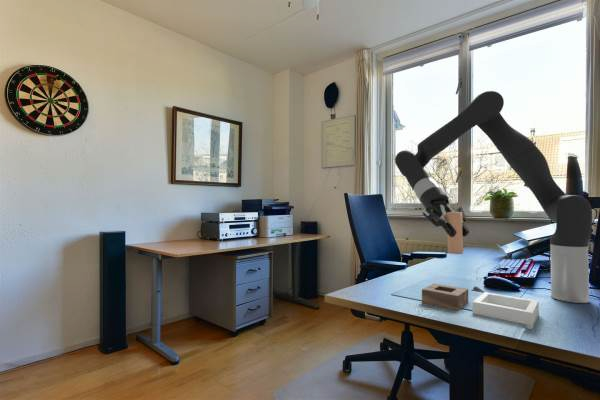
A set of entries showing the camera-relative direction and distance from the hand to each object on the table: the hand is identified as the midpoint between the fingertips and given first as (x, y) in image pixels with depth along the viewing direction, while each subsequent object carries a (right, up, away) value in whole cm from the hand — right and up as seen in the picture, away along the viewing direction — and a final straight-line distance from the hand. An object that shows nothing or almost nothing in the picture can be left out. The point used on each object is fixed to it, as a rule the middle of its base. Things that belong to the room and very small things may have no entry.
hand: (460, 234), depth 91 cm
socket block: (-3, -22, +3) cm, 22 cm away
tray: (+9, -21, -6) cm, 24 cm away
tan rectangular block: (-1, -6, +2) cm, 6 cm away
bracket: (+9, -23, +16) cm, 29 cm away
